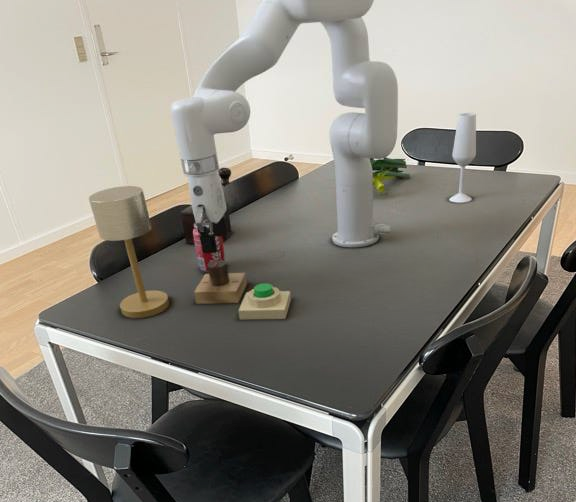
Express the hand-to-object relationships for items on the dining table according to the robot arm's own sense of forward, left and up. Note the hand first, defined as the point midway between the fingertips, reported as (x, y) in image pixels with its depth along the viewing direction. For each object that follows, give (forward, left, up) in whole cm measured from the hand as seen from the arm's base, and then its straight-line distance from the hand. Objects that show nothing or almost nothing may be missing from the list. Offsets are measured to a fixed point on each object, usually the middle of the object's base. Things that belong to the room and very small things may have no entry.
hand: (215, 243), depth 126 cm
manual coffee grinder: (+12, -40, -12) cm, 43 cm away
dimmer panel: (0, 0, -12) cm, 12 cm away
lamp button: (-12, +9, -8) cm, 17 cm away
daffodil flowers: (-36, -79, -12) cm, 87 cm away
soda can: (+6, -15, -12) cm, 20 cm away
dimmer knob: (0, 0, -9) cm, 9 cm away
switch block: (-12, +9, -12) cm, 19 cm away
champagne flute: (-61, -63, -12) cm, 88 cm away
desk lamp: (+17, +6, -12) cm, 22 cm away
